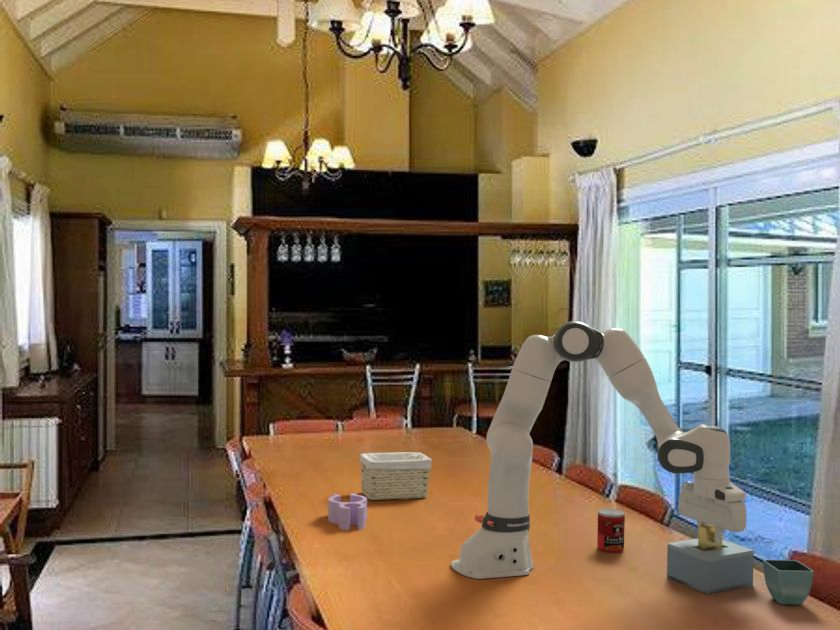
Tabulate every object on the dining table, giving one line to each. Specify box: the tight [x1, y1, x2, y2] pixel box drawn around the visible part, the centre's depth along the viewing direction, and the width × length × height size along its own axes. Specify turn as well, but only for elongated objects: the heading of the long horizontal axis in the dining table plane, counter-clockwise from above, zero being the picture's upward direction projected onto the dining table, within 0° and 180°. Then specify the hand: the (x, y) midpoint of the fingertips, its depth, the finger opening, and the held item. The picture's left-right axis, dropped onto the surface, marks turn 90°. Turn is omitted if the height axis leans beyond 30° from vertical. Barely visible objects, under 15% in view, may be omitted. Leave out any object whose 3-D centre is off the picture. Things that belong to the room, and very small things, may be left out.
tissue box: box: [666, 538, 755, 595], centre depth 220 cm, size 16×14×9 cm
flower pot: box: [762, 559, 815, 606], centre depth 206 cm, size 9×9×9 cm
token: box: [697, 524, 723, 551], centre depth 220 cm, size 6×2×6 cm, turn 117°
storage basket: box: [359, 451, 432, 501], centre depth 309 cm, size 24×16×15 cm
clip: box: [327, 492, 368, 531], centre depth 273 cm, size 20×12×7 cm, turn 14°
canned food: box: [596, 508, 626, 554], centre depth 247 cm, size 8×8×11 cm
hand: (710, 540), depth 220 cm, fingers closed on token, 2 cm apart
